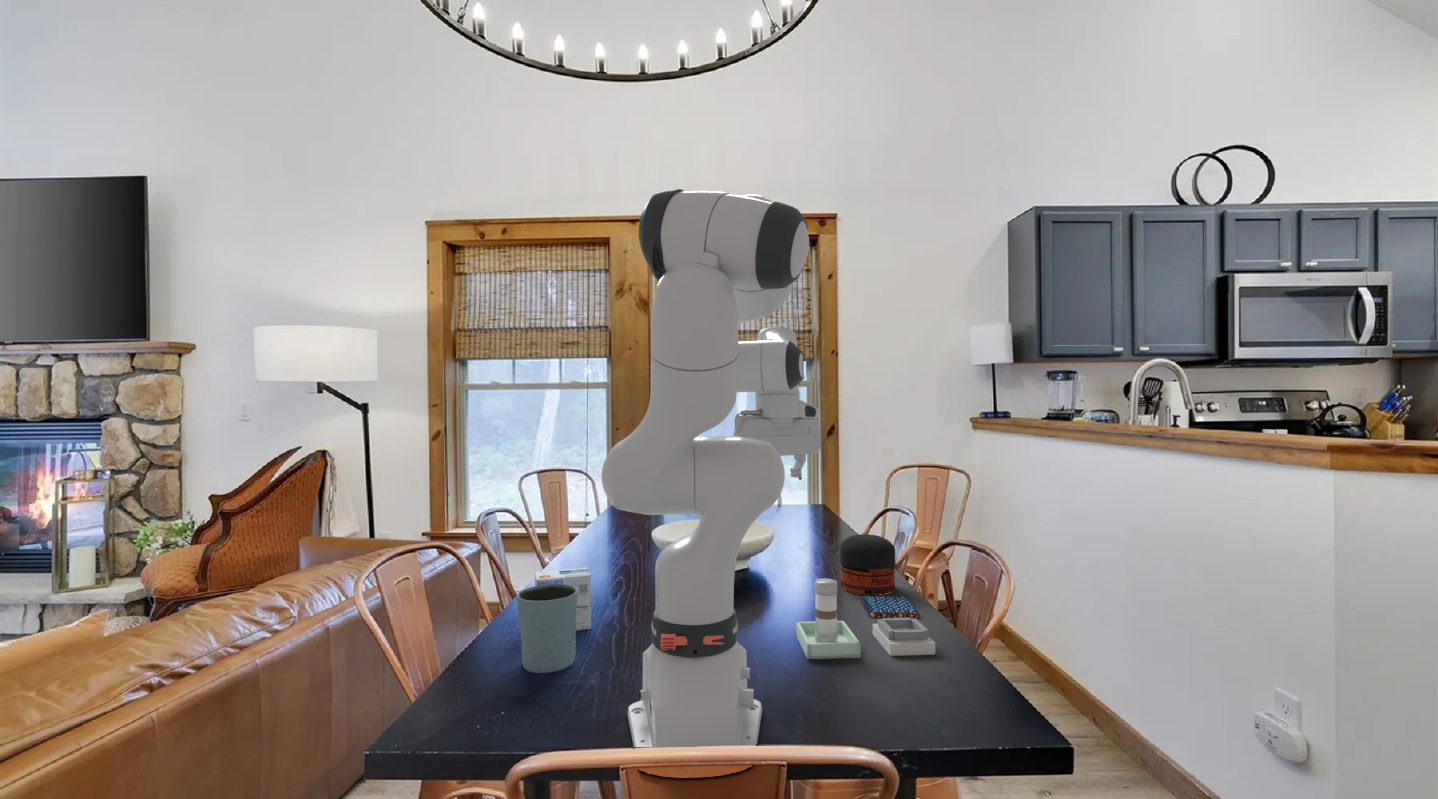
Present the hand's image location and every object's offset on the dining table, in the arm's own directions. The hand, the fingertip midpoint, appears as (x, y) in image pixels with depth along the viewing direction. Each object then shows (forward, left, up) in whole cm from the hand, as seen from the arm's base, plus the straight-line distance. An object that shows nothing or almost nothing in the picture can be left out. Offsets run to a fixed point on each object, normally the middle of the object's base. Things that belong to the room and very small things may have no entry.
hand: (778, 478), depth 120 cm
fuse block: (-11, -21, -29) cm, 37 cm away
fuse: (-11, -7, -28) cm, 31 cm away
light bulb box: (+2, +43, -29) cm, 52 cm away
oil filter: (+24, -25, -29) cm, 45 cm away
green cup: (-15, +42, -29) cm, 53 cm away
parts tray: (-11, -7, -29) cm, 32 cm away
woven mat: (+8, -25, -30) cm, 40 cm away
